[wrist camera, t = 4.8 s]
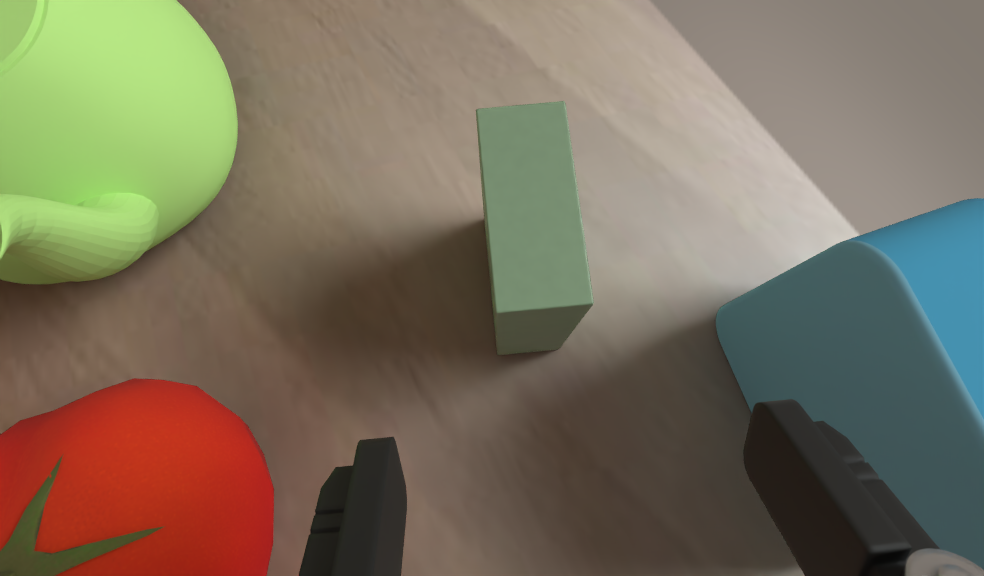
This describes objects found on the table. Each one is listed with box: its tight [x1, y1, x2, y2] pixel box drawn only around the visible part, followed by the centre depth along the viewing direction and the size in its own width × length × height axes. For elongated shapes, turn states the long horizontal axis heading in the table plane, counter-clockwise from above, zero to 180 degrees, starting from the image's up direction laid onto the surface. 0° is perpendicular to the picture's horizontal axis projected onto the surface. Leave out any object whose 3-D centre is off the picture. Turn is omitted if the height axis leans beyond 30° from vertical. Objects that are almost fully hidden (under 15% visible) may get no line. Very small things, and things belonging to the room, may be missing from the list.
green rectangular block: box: [476, 101, 594, 355], centre depth 22 cm, size 3×7×10 cm, turn 5°
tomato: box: [0, 379, 274, 576], centre depth 19 cm, size 11×13×10 cm
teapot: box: [0, 0, 238, 284], centre depth 22 cm, size 22×15×13 cm
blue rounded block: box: [716, 198, 984, 570], centre depth 19 cm, size 12×4×12 cm, turn 19°
